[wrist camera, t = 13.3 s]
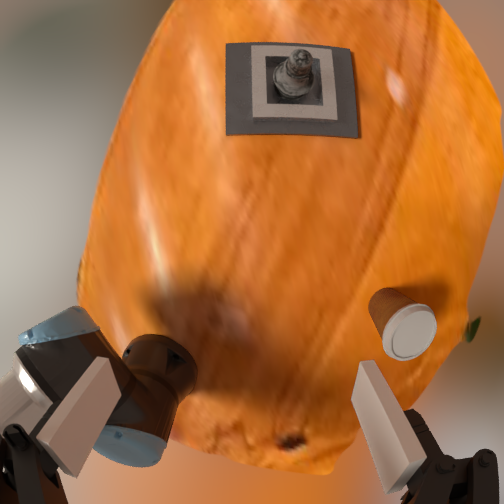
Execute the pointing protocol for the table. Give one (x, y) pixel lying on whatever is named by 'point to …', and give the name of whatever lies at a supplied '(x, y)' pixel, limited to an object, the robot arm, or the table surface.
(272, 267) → the table surface
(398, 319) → the disposable coffee cup
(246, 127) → the collar plate
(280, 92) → the dark grey chess piece
